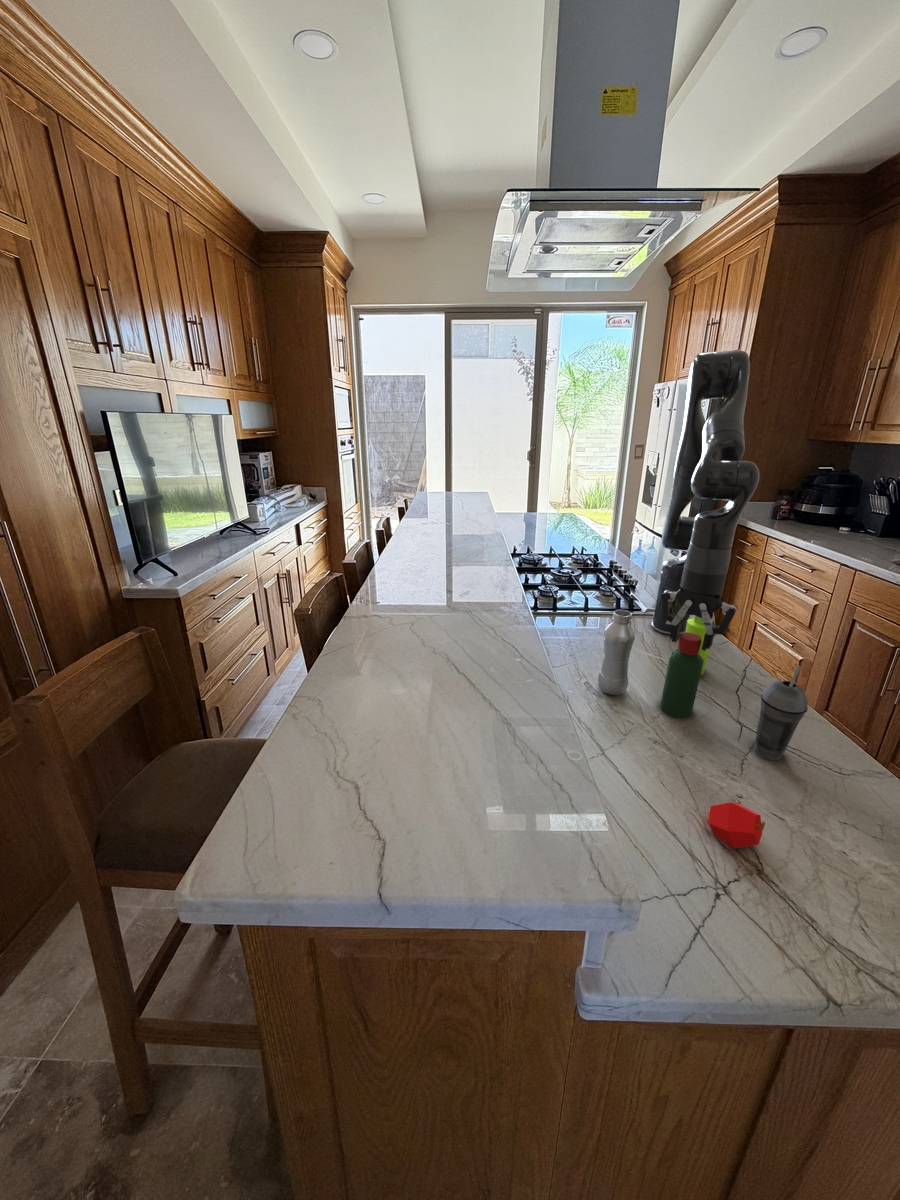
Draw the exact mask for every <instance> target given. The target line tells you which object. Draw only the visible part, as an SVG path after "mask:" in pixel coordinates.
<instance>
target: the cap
mask: <svg viewBox="0 0 900 1200" xmlns="http://www.w3.org/2000/svg"><path fill="white" fill-rule="evenodd" d="M701 639H702V638H701V637H700V636H699V635H697V634H694V633H689V632H685V633H682V634H681V635H679V638H678V645H677V649H678V650H679V651H680V652H681V653H684V654H687V655H697V654H698V653H699V650H700V645H701Z"/></svg>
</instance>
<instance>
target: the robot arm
mask: <svg viewBox="0 0 900 1200" xmlns="http://www.w3.org/2000/svg"><path fill="white" fill-rule="evenodd" d="M750 360H751V359H750V356H749V354H748V353H747V352H746V351H745V350H736V349H735V350H723V351H705V352H700V353H698V354H696V355H695V356H694V358H693V360H692V362H691V365H690V369H689V373H688V382H687V389H686V399H685V407H684V416H683V424H682V431H681V435H680V440H679V445H678V450H677V453H676V459H675V460H676V461H675V465H674V471H673V479H672V486H671V493H670V499H669V503H668V508H667V511H666V516H665V519H664V524H663V529H662V534H661V544H662V546H663V548H665V549H667V550H671V551H680V552H686V553H685V554H684V555H682V556H679V557H675V558H671V559H667V560H665V561H664V562H663V563H662V566H661V572H660V578H659V585H658V590H657V595H656V600H655V601H656V602H655V606H654V612H653V617H652V622H651V627H652V629H653V630H654V631H656V632H659V633H660V634H664V635H669V639H671V641H672V642H673V643H677V642H678V641H679V639H680V636H681V634H682V633H685V631H686V626H687V621H688V620H689V619H690V617H691V616H697V617H700V618H702V619H703V623H704V625H705V628H706V633H705V636H704V640H703V645H702V650H704V651H706V649H709V650H710V648H711V647H712V646H713V642H714V637H715V635H720V636H722V635H724V634H725V632H726V631H727V629H728V628H729V625H730V623H731V621H732V620H733V618H734V616H735V615H736V613H737V611H738V609H739V607H738V605H737V604H732V605H731V604H729V603H728V602H727V603H726V602H724V598H723V593H724V588H725V583H726V580H727V575H728V571H729V568H730V567H729V566H730V562H731V557H732V547H733V543H734V540H735V539H734V538H735V535H736V529H737V526H738V523H739V522H740V519H741V516H742V514H743V513H744V510H745V509H746V507H747V505H748V504H749V502H750V500H751V499H752V497H753V495H754V493H755V491H756V490H757V487H758V485H759V482H760V475H761V473H760V470H759V468H758V466H757V464H756V462H753V461H751V460H741V459H742V458H743V457H744V455H745V450H746V441H745V438H746V437H745V424H744V423H745V422H744V421H745V411H746V407H747V399H748V391H749V382H750V375H751V373H750V372H751V361H750ZM722 399H723V400H724V401H723V402H722V403H721V404H720V405H719V406H718V407H717V408H716V409H715V410H714V411H713V412H712V413H711V414H710V415H709V417H708V418H707V419H706V418H705V416H704V415H705V414H704V412H703V408H702V401H703V400H722ZM696 498H698V499H701V500H708V501H709V500H711V501H713V500H714V501H715V500H716V501H728V502H727V503H726V504H725V505H724V506H723V507H722V508H718V509H715V510H708V511H707V510H706V511H702V512H699V513H698V514H697V515H696V516H694V517H693V516H683V515H682V513H683V512H684V511H685V509H686V508H687V507H688V506H689V504H691V502H693V500H695V499H696ZM681 515H682V516H681ZM720 608H721V610H722V611H721V613H722V615H723V616H724V618H723V619H722V621H721V623H720V624H719V625H716V621H715V619H716V617H715V612H716V611H717V610H719V609H720Z"/></svg>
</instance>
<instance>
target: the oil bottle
mask: <svg viewBox="0 0 900 1200" xmlns="http://www.w3.org/2000/svg"><path fill="white" fill-rule="evenodd" d="M703 662H704V661H703V658H702V657H701V656H700V655H699V654H697V655H687V654H684V653H681V652H680V651H679V650H678V648H677V649H674V650H672V651H671V652H670V653H669V658H668V662H667V667H666V673H665V678H664V683H663V688H662V694H661V698H660V704H659V708H660V710H661V711H662V712H663V713H664V714H666V715H668V716H669V717H673V718H677V719H687V718H690V717H691V716H692V715H693V710H694V705H695V701H696V696H697V692H698V688H699V683H700V680H701V676H702V675H701V671H702V666H703ZM700 675H701V676H700Z"/></svg>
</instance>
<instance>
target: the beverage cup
mask: <svg viewBox="0 0 900 1200" xmlns="http://www.w3.org/2000/svg"><path fill="white" fill-rule="evenodd" d="M800 669H801V665H800V664H797V665H796V667H795V670H794V673H793V675H792V677H791V680H784V679H783V680H781V679H780V680H776V681H774V682H772V683H771V682H770V684H768V685H767V686H766V687H765V689H764V690H763V692H762V693H761V695H760V711H759V717H758V723H757V729H756V734H755V740H754V742H755V743H754V751H755V753H756V754H758V755H759V756H760V757H762V758H764V759H767V760H770V761H779V760H781V759H782V758H783V757H782V756H783V755H784V753H786V750H787V748H788V746H789V744H790V742H791V739H792V737H793V735H794V733H795V731H796V729H797V728H798V727H797V726H798V725H799V723H800V721H801V720H802V719H803V717H804V715H805V713H807V712H808V710H809V709H808V706H809V700H808V696H807V693H806V692H805V690H804V689H803V688H802V687H801V686H800V685H799V684H797V683H795V682H796V678H797V676H798V674H799V671H800Z"/></svg>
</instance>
